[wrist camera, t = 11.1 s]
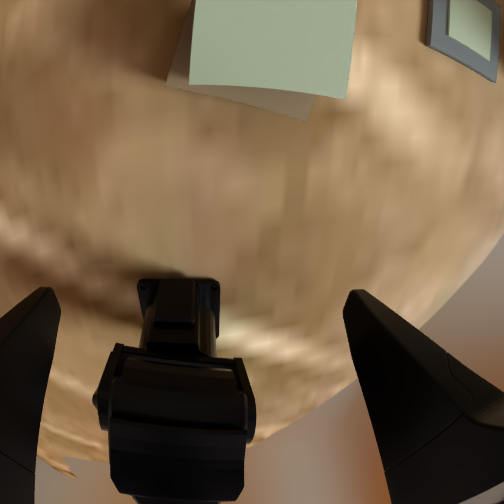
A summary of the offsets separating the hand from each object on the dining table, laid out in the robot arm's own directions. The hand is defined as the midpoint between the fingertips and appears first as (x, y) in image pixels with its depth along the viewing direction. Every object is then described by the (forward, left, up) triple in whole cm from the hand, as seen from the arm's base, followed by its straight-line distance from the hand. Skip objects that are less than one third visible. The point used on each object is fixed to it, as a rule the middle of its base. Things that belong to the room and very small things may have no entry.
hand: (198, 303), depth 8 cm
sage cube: (+8, -2, -8) cm, 12 cm away
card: (+15, -18, -12) cm, 26 cm away
